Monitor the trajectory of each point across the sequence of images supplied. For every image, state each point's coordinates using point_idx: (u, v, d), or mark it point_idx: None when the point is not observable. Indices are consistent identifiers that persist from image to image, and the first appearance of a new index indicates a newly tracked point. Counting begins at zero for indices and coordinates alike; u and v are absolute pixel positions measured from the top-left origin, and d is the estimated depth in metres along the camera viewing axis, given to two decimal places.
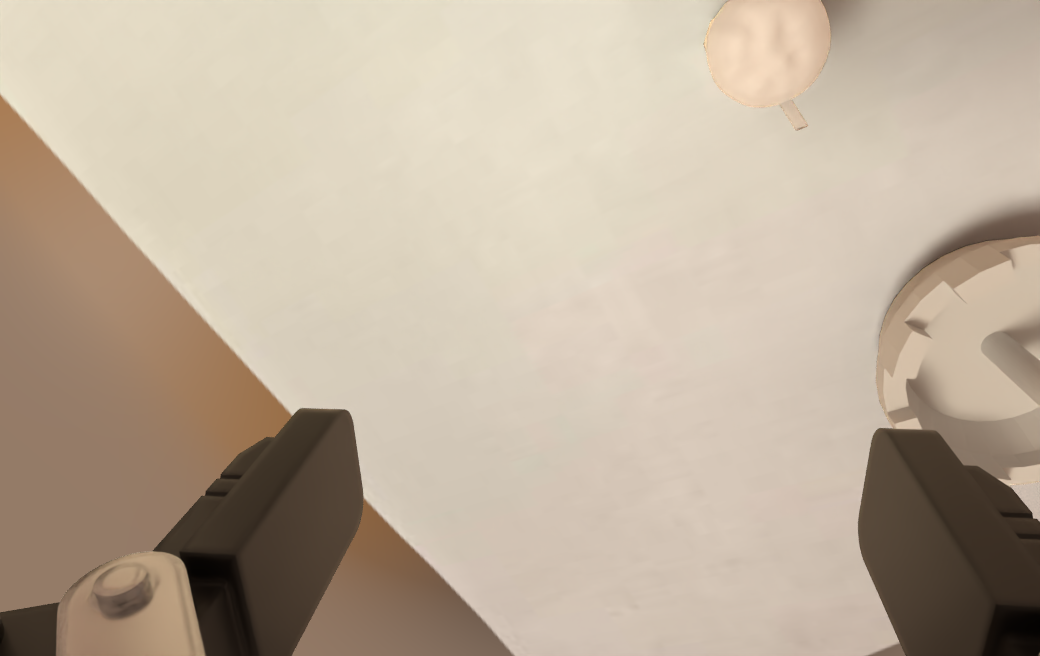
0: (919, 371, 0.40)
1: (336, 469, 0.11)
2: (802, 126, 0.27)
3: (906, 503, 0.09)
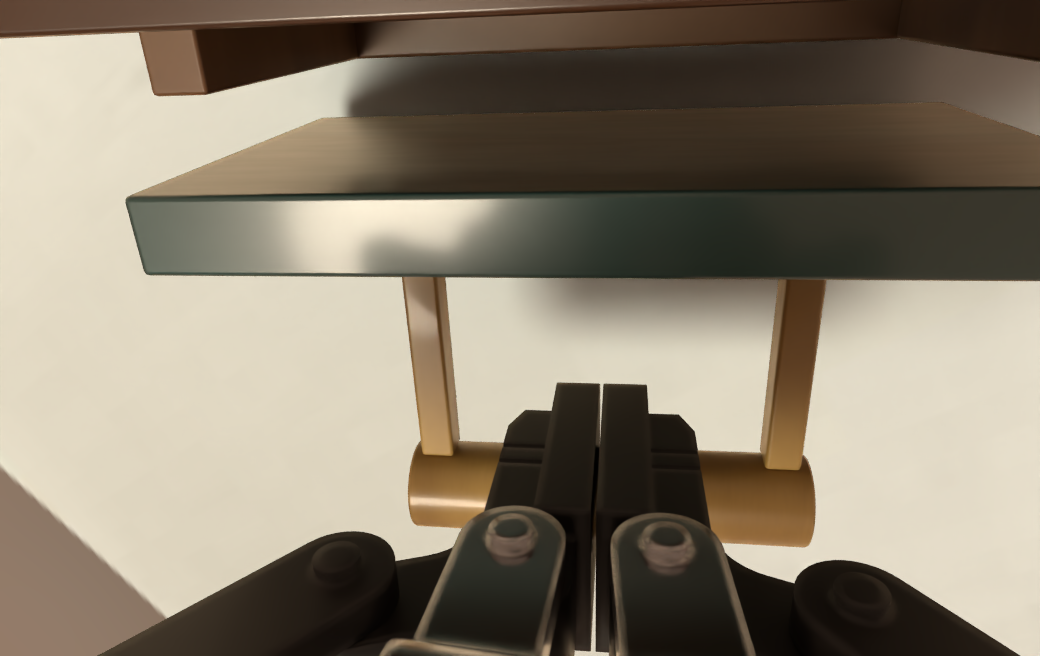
0: None
1: (598, 440, 0.12)
2: None
3: None
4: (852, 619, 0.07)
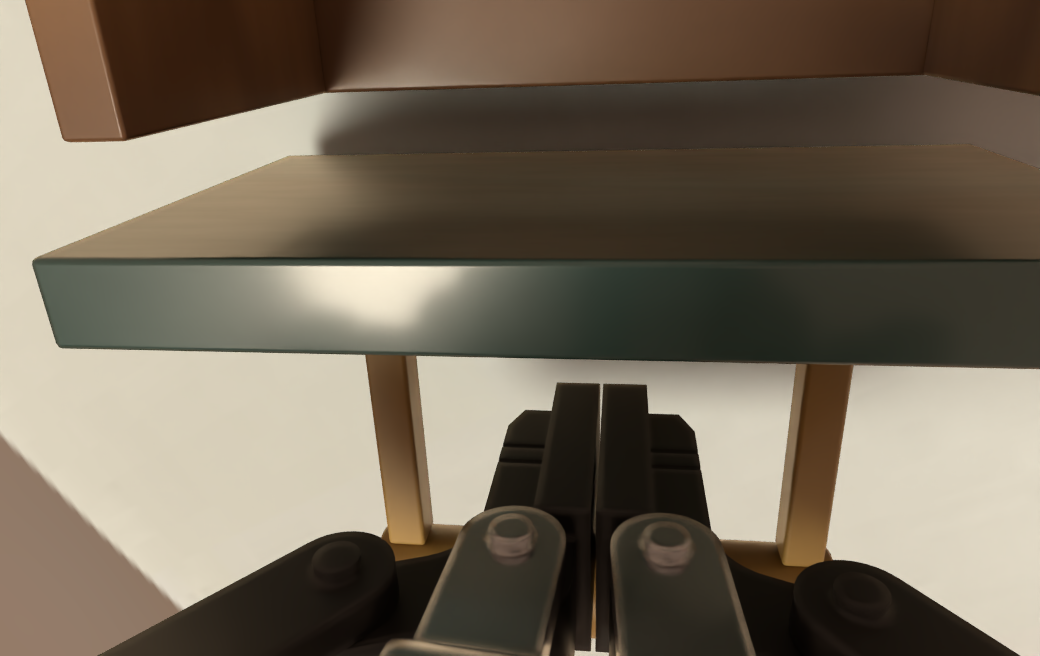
0: None
1: (598, 440, 0.12)
2: None
3: None
4: (852, 619, 0.07)
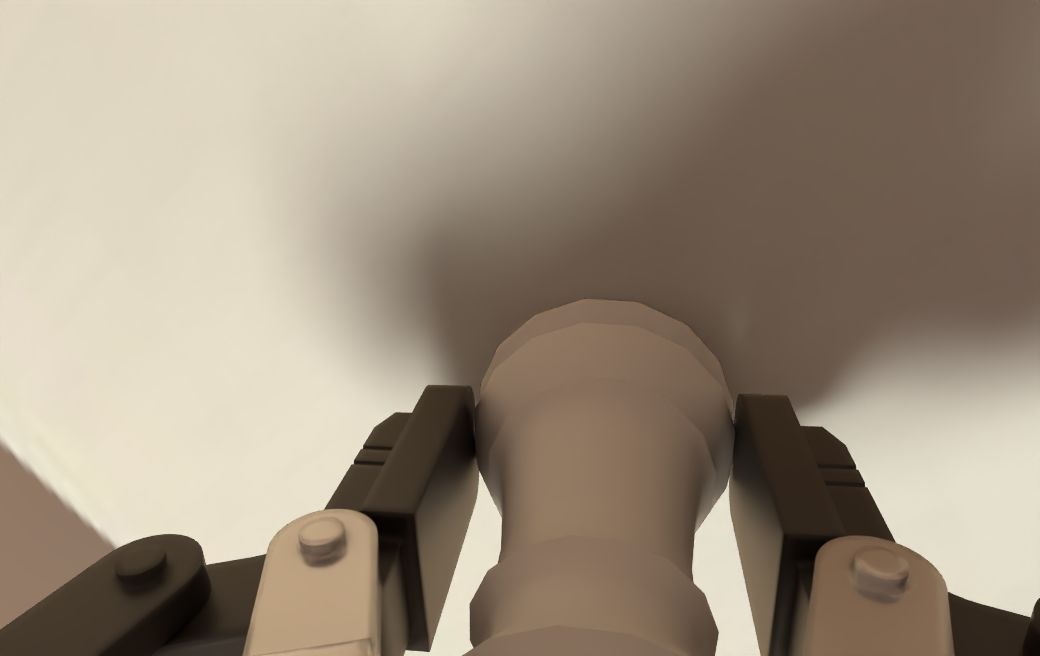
0: None
1: (465, 442, 0.12)
2: None
3: (749, 458, 0.10)
4: None
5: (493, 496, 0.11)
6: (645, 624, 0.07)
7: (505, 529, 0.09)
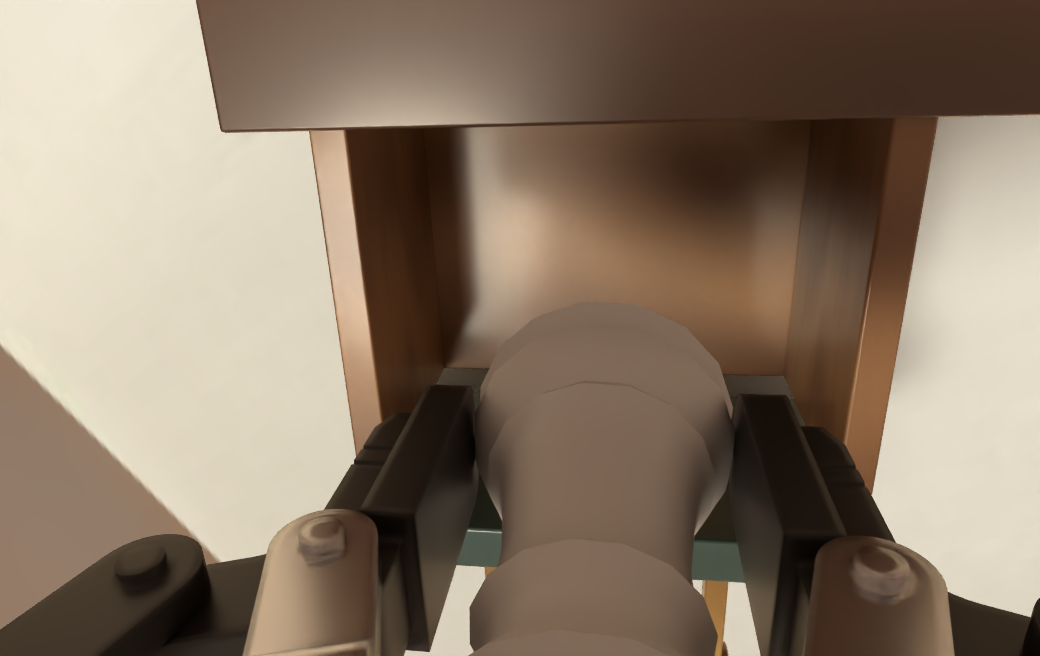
0: None
1: (465, 442, 0.12)
2: None
3: (749, 458, 0.10)
4: None
5: (493, 499, 0.11)
6: (645, 628, 0.07)
7: (505, 532, 0.09)
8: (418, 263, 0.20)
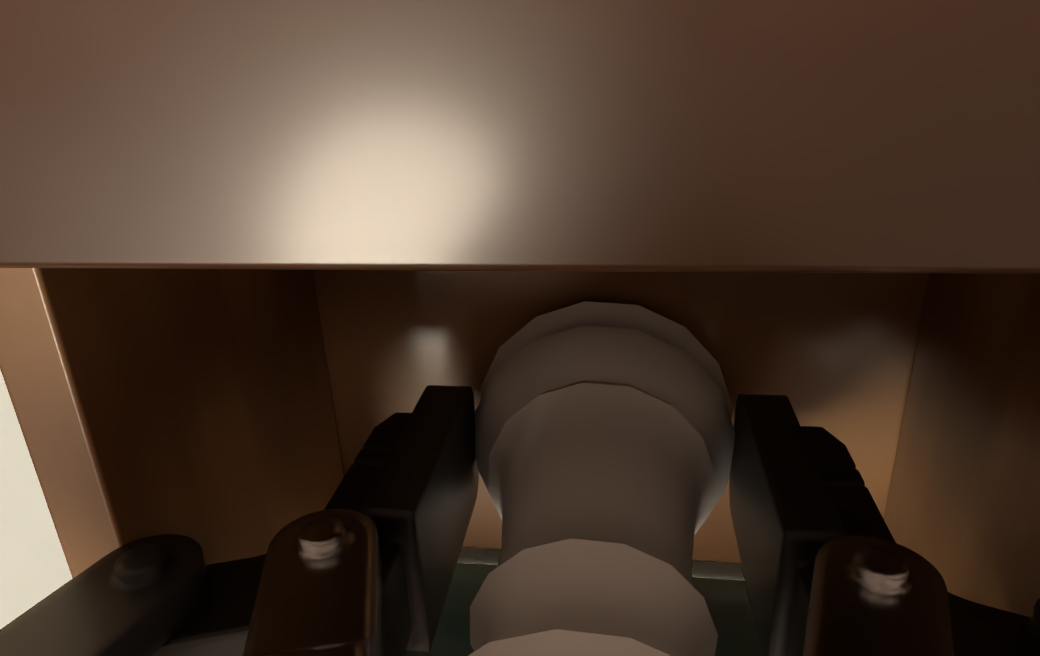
0: None
1: (465, 443, 0.12)
2: None
3: (749, 458, 0.10)
4: None
5: (493, 499, 0.11)
6: (644, 628, 0.07)
7: (505, 532, 0.09)
8: (289, 415, 0.12)
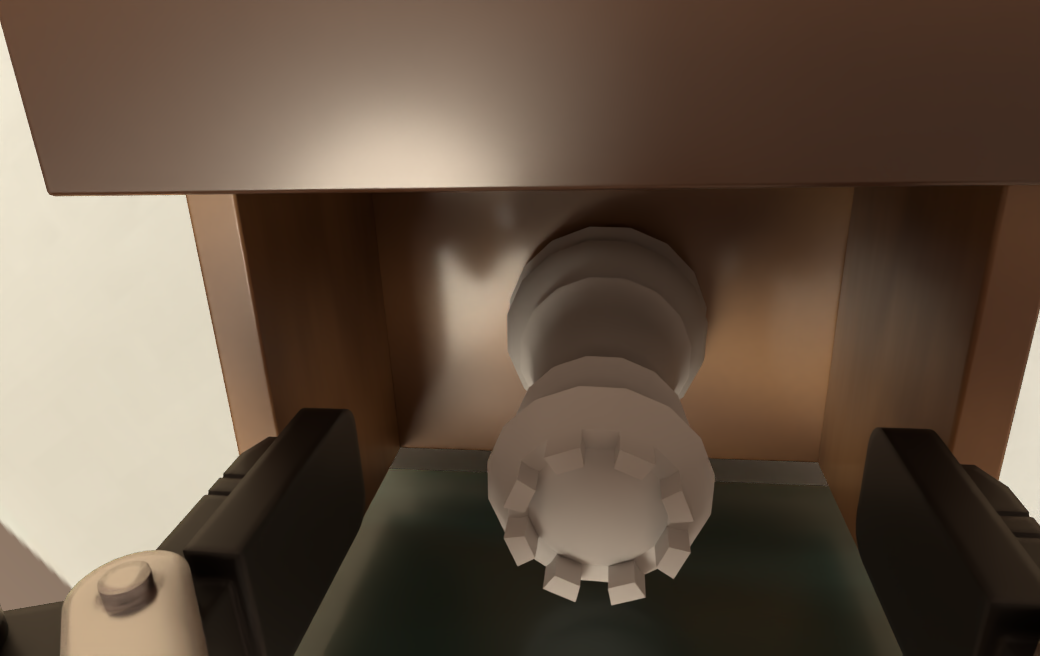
0: None
1: (338, 468, 0.11)
2: None
3: (904, 503, 0.09)
4: None
5: (524, 374, 0.15)
6: None
7: (537, 377, 0.13)
8: (360, 328, 0.16)
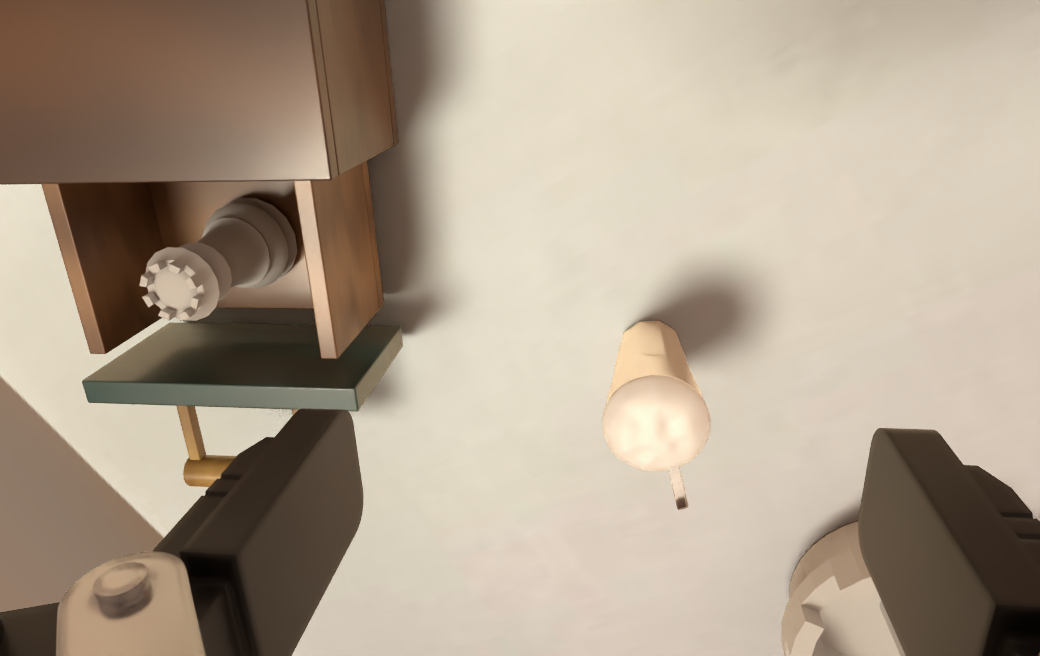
0: (825, 622, 0.43)
1: (335, 469, 0.11)
2: (683, 506, 0.30)
3: (907, 503, 0.09)
4: None
5: None
6: (197, 256, 0.31)
7: None
8: (139, 243, 0.36)
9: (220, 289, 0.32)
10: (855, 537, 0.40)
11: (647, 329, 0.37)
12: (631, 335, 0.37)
